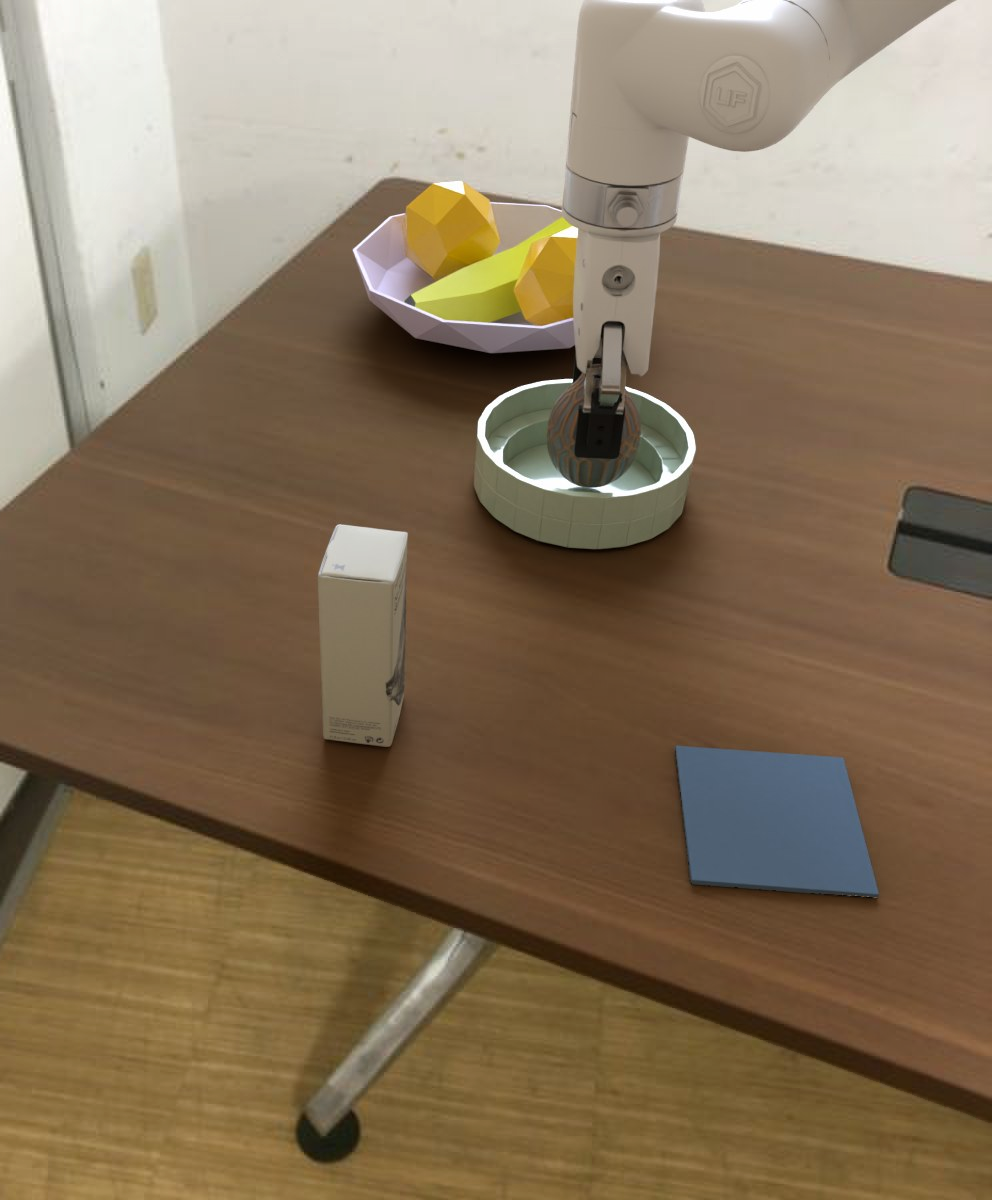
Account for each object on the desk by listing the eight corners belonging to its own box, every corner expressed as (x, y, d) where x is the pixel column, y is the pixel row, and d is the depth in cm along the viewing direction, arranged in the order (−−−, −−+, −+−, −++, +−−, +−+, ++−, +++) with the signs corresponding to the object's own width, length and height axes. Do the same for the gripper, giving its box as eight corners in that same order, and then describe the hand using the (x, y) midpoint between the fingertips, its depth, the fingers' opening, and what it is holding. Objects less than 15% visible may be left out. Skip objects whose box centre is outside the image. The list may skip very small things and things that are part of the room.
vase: (561, 440, 98) (571, 340, 93) (646, 461, 96) (661, 360, 90) (530, 485, 94) (538, 382, 88) (617, 508, 91) (632, 404, 86)
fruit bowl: (390, 403, 105) (393, 278, 98) (336, 264, 126) (334, 153, 118) (700, 373, 110) (724, 252, 103) (599, 244, 130) (613, 136, 123)
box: (391, 751, 75) (395, 586, 67) (320, 741, 75) (314, 577, 67) (406, 691, 79) (411, 528, 71) (338, 682, 79) (335, 519, 71)
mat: (842, 761, 75) (843, 757, 75) (877, 899, 67) (879, 894, 67) (674, 749, 75) (675, 745, 75) (690, 884, 68) (691, 879, 67)
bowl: (674, 438, 102) (684, 385, 99) (694, 560, 90) (706, 503, 86) (477, 426, 103) (480, 373, 100) (469, 546, 90) (473, 489, 87)
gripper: (693, 251, 74) (654, 497, 85) (668, 147, 87) (637, 372, 99) (566, 247, 75) (544, 492, 86) (560, 144, 88) (542, 368, 99)
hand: (594, 426), depth 92 cm, fingers closed on vase, 6 cm apart
